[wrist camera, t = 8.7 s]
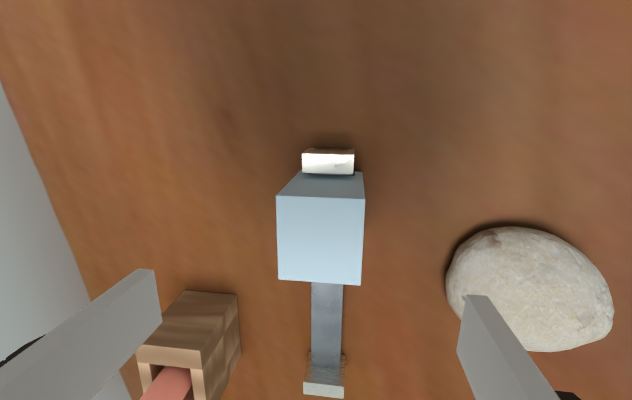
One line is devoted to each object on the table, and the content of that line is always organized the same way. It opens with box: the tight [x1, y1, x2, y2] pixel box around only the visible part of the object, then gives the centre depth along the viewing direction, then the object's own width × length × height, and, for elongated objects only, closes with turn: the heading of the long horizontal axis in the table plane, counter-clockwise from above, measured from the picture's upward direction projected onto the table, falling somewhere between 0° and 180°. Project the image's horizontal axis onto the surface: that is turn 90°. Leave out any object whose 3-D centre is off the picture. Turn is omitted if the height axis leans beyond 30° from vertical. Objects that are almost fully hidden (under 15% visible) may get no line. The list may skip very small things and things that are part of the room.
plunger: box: [140, 366, 192, 400], centre depth 27 cm, size 3×3×8 cm
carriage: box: [276, 170, 365, 286], centre depth 24 cm, size 6×6×9 cm
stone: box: [445, 226, 615, 352], centre depth 26 cm, size 13×10×8 cm
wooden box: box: [135, 290, 241, 400], centre depth 30 cm, size 8×6×8 cm
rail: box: [302, 148, 354, 399], centre depth 28 cm, size 24×4×4 cm, turn 179°
